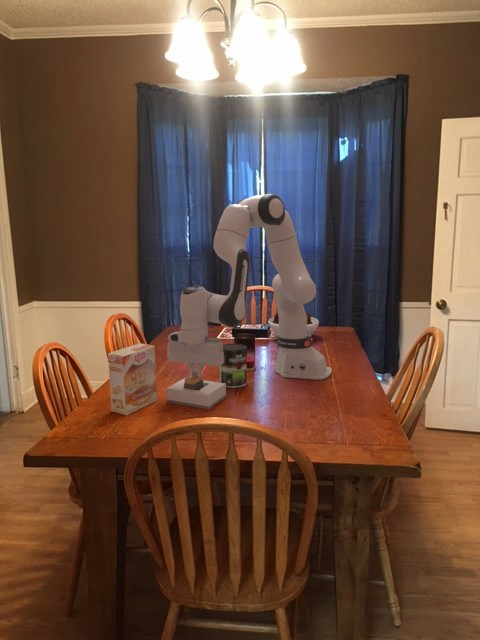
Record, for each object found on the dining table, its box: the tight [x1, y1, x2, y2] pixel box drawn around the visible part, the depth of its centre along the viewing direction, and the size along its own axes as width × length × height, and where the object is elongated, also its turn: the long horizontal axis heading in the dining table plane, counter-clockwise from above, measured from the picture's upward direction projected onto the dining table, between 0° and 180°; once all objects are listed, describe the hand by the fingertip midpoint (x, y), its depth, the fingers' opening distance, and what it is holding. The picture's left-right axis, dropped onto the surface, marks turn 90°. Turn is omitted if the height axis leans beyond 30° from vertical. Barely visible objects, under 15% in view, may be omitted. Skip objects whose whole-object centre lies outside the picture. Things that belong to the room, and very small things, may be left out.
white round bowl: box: [267, 312, 320, 339], centre depth 251 cm, size 25×25×15 cm
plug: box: [184, 374, 204, 391], centre depth 171 cm, size 4×6×7 cm, turn 155°
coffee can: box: [219, 343, 248, 389], centre depth 187 cm, size 10×10×14 cm
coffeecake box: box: [107, 342, 158, 416], centre depth 165 cm, size 15×7×20 cm, turn 148°
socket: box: [166, 377, 227, 410], centre depth 172 cm, size 16×12×5 cm
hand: (196, 375), depth 170 cm, fingers closed
